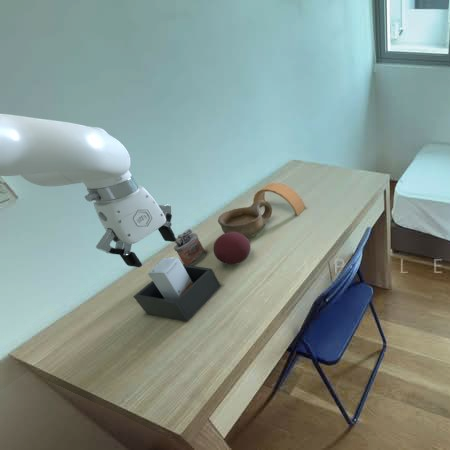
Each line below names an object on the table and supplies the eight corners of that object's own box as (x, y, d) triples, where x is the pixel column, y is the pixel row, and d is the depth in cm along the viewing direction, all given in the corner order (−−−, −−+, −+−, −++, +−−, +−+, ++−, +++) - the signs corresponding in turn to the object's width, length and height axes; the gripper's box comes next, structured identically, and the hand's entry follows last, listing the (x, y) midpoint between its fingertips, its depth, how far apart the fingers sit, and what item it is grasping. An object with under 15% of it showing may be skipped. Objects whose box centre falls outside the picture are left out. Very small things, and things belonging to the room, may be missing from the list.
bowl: (250, 210, 119) (248, 188, 113) (281, 224, 117) (280, 203, 111) (212, 235, 106) (207, 213, 99) (246, 252, 104) (243, 230, 97)
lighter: (191, 268, 94) (177, 243, 89) (181, 267, 95) (166, 242, 89) (208, 251, 101) (196, 227, 95) (199, 251, 101) (186, 226, 96)
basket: (187, 322, 78) (174, 303, 74) (146, 314, 80) (132, 296, 76) (221, 286, 88) (211, 268, 84) (184, 280, 90) (173, 263, 86)
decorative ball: (261, 253, 99) (251, 227, 94) (240, 274, 92) (228, 248, 86) (236, 248, 102) (225, 223, 96) (213, 268, 94) (199, 242, 88)
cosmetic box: (185, 306, 81) (163, 273, 74) (169, 306, 81) (146, 273, 74) (198, 289, 86) (178, 256, 79) (183, 289, 86) (162, 257, 79)
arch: (297, 216, 117) (290, 193, 111) (254, 208, 123) (246, 186, 117) (305, 208, 121) (300, 185, 116) (264, 201, 127) (256, 179, 121)
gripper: (85, 211, 57) (133, 279, 66) (163, 172, 71) (194, 233, 80) (55, 208, 58) (106, 275, 68) (137, 171, 72) (171, 231, 82)
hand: (154, 252), depth 74 cm, fingers open, 9 cm apart
